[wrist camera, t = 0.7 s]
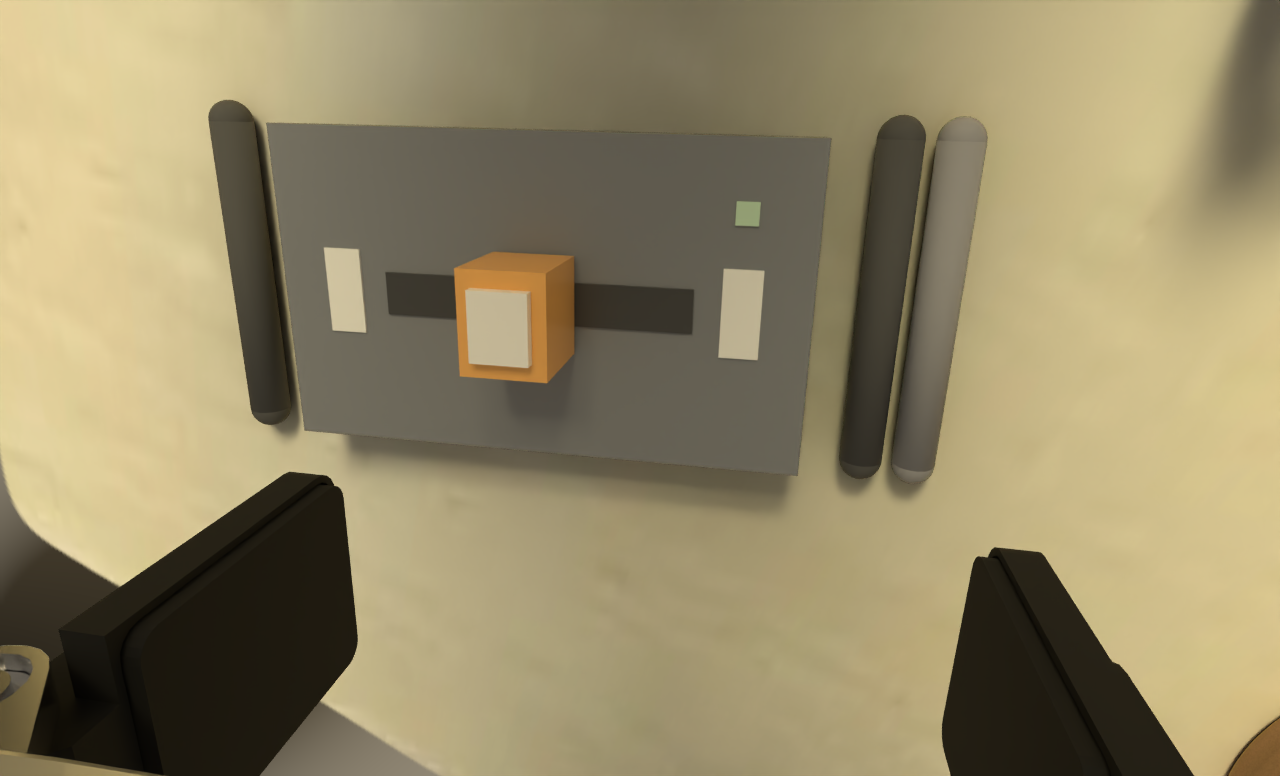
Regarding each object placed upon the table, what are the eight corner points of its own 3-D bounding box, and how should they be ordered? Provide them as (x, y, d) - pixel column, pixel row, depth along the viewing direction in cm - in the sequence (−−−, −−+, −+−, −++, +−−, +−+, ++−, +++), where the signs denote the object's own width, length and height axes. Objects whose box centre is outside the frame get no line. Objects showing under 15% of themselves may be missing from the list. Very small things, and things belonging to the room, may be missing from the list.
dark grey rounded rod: (224, 100, 31) (195, 98, 29) (260, 100, 31) (233, 99, 29) (268, 415, 35) (245, 428, 34) (300, 418, 35) (279, 431, 33)
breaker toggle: (493, 251, 28) (448, 270, 24) (574, 255, 27) (542, 275, 23) (496, 347, 29) (454, 380, 25) (574, 353, 28) (543, 387, 24)
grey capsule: (877, 114, 27) (883, 114, 25) (924, 116, 27) (932, 115, 25) (835, 466, 31) (838, 483, 30) (875, 470, 31) (881, 487, 30)
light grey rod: (936, 116, 27) (945, 115, 25) (984, 117, 26) (997, 116, 25) (886, 471, 31) (891, 488, 30) (927, 475, 31) (935, 492, 29)
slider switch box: (313, 123, 30) (264, 122, 28) (825, 137, 27) (831, 138, 25) (343, 406, 34) (303, 431, 31) (795, 445, 31) (797, 477, 28)
